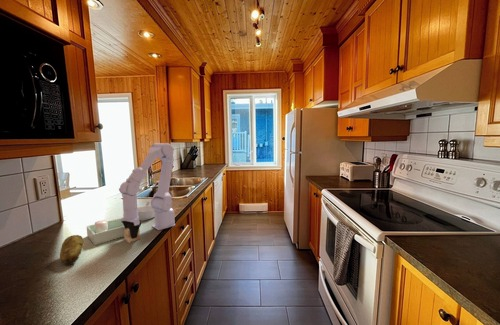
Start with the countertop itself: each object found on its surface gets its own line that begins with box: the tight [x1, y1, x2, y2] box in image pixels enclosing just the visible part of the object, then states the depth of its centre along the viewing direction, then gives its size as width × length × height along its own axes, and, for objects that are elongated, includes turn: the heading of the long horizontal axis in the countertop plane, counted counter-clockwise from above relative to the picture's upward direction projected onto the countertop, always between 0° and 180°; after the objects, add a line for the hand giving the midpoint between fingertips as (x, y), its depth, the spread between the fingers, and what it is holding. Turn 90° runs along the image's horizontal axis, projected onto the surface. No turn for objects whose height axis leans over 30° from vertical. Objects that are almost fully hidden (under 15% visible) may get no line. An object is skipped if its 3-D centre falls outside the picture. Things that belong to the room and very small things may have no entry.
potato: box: [59, 234, 84, 266], centre depth 87 cm, size 8×13×8 cm, turn 13°
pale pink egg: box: [94, 219, 108, 233], centre depth 106 cm, size 5×5×7 cm
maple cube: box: [123, 228, 141, 243], centre depth 104 cm, size 5×5×5 cm
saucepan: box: [137, 201, 155, 221], centre depth 136 cm, size 12×20×6 cm, turn 16°
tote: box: [86, 217, 125, 246], centre depth 109 cm, size 17×13×5 cm
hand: (132, 236), depth 105 cm, fingers closed on maple cube, 5 cm apart
